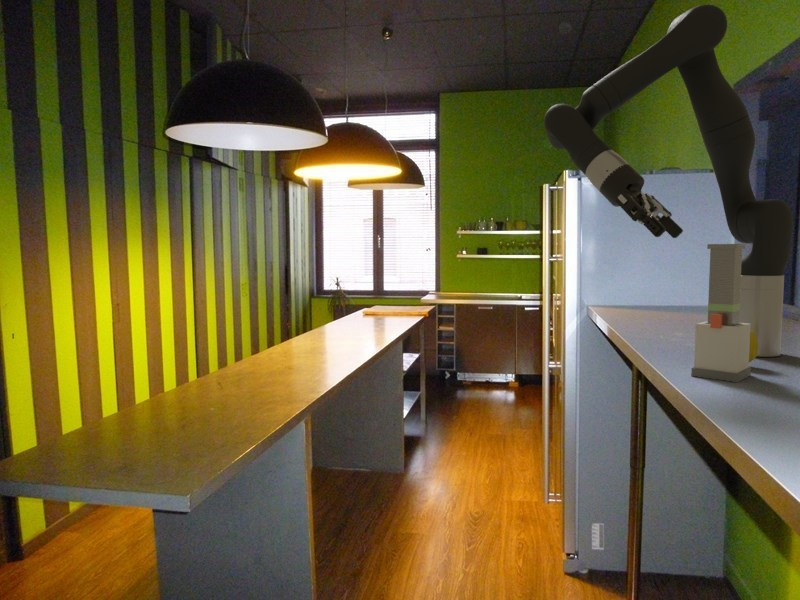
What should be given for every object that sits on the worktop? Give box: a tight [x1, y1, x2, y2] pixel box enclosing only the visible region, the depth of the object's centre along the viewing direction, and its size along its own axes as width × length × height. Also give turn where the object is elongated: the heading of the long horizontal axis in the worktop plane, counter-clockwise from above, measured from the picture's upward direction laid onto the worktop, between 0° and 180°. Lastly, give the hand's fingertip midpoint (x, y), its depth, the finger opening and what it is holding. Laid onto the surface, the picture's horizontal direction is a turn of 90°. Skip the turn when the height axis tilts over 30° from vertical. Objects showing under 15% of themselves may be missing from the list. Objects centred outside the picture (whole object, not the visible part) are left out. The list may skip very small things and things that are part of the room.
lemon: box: [749, 330, 758, 363], centre depth 117 cm, size 6×6×8 cm
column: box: [706, 243, 746, 326], centre depth 107 cm, size 5×5×17 cm
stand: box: [691, 314, 752, 383], centre depth 108 cm, size 8×8×12 cm
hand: (670, 234), depth 113 cm, fingers open, 8 cm apart
